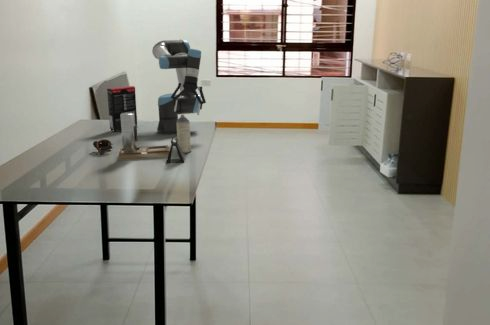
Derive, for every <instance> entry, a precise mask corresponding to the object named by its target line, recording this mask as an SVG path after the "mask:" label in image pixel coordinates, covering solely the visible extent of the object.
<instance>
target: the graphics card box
mask: <svg viewBox="0 0 490 325" xmlns="http://www.w3.org/2000/svg"><path fill="white" fill-rule="evenodd" d="M106 91H107V93H106V94H107V104H108V106H107V107H108V118H109V119H108V120H109V130H110V129H111V130H110V131H112V130H114V131H113V132H117V131H116V130H121V131H122V129H121V118H120V114H123V113H134V116H135V124H137V125H138V118H137V117H138V116H137V114H138V113H137V101H136V87H135V86H133V85H129V86H120V87H112V88H106Z"/></svg>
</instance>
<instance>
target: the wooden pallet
mask: <svg viewBox="0 0 490 325" xmlns="http://www.w3.org/2000/svg"><path fill="white" fill-rule="evenodd" d="M169 151H170V147H169V145H168V144H167V145H155V146H154V145H153V146H146V148H142V147H140V146H139V147H138V146H137V152H131V153H124V151H123V147H122V148H119V150H118V154H117V156H118V161H119V160H120V161H129V160H131V161H132V160H133V161H134V160H143V159H145V160H146V159H156V158H157V159H158V158H168V154H169Z"/></svg>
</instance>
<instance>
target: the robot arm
mask: <svg viewBox="0 0 490 325" xmlns="http://www.w3.org/2000/svg"><path fill="white" fill-rule="evenodd" d="M151 50H152V55H153V57H154V58H155V59H156V60H158V66H159V68H160V70H171V69H173V70H174V69H175V72H176V77H177V81H178V82H177V87H176V88H175V90H174V92H173V93H165V94H162V95H160V96H159V97H158V98H157V105H158V124H157V128H156V131H157V134H161V135H172V134H177V124H176V122H177V120H178V119H179V115H182V114H184V115H189V114H196V115H197V116H200V111H201V110H202V109H203V104H206V103H207V102H206V98H205V94H204V91H203V86H198V80H199V78H198V77H199V72H200V66H201V58H202V50H200V49H198V48H197V49H196V48H191V45H190V44H189V41H188V40H186V39H171V40H161V41H158V42H157V43H155V44H154V45H153V47H152V49H151ZM197 89H198V91H199V93H198V92H197ZM177 93H178V94H177Z"/></svg>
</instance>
